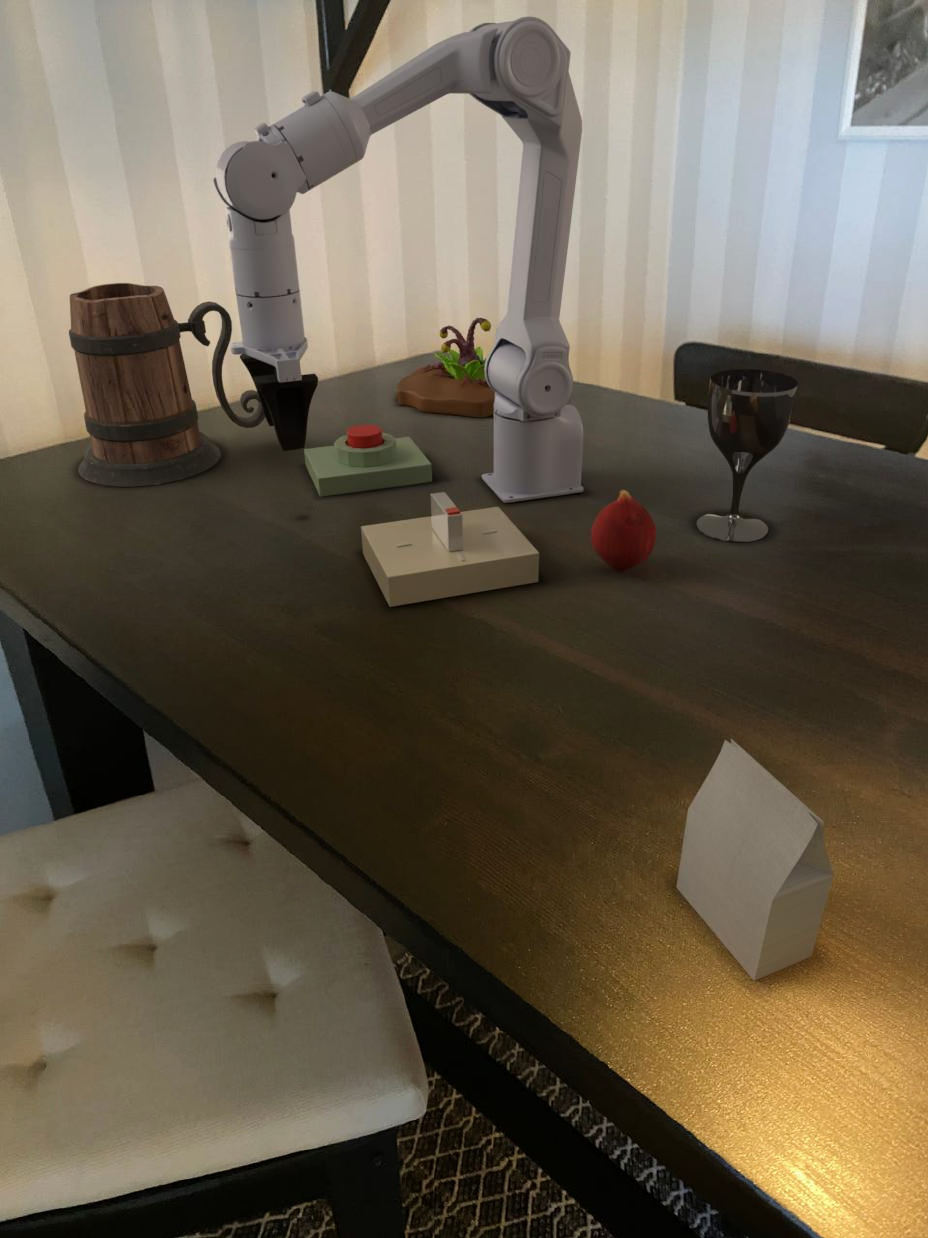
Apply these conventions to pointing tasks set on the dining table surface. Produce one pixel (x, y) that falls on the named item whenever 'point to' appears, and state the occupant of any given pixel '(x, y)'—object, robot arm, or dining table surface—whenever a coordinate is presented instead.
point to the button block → (367, 466)
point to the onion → (623, 533)
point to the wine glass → (745, 437)
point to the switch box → (447, 521)
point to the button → (364, 436)
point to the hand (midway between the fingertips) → (285, 436)
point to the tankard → (144, 386)
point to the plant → (452, 380)
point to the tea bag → (755, 864)
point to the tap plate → (448, 557)
